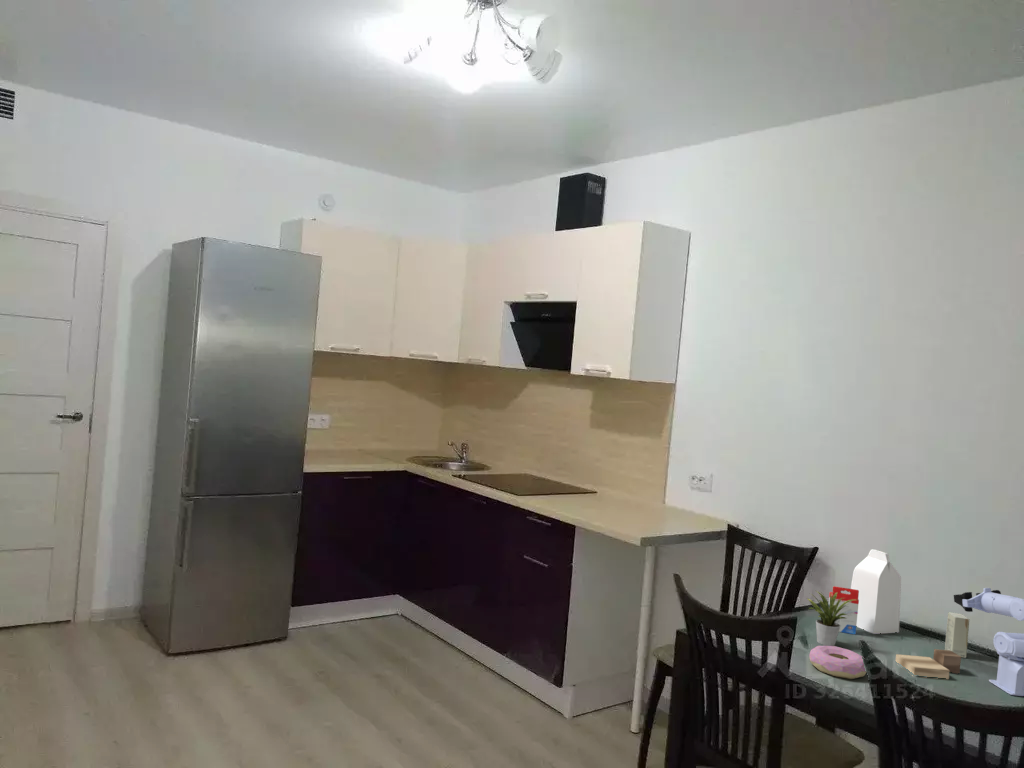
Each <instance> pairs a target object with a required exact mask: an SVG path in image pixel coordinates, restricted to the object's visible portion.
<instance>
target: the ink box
mask: <svg viewBox="0 0 1024 768" xmlns="http://www.w3.org/2000/svg"><path fill="white" fill-rule="evenodd" d="M845 591H846V592H848V593H846V592H845ZM836 592H837V597H836V599H835V602H834V605H836V603H837V602H838V600H839V599H841V598H842V599H841V601H840V603H839V605H838V607H837V609H838V608H839V606H840V605H842V604H843V603H844V602H846V601H848V600H853V601H850V602H848V603H846V604H845V605H846V606H845V605H844V606H845V607H844V606H843V607H844V608H842V609H841V610H840V611H839V612H838V613H837V615H839V614H841V613H845V614H847V615H842V616H840V617H845V618H847V619H838V620H836V621H835V622H836V623H838V624H839V625H840V629H839V632H838V633H844V634H850V635H856V634H857V627H856V624H857V614H858V604H859V600H858V596H859V590H855V589H851V588H847V587H843V586H842V587H841V586H835V585H834V586H832V591H829V592H828V593H829V595H828V596H829V597H828V605H829V606H830V593H831V595H832V597H833V595H834V594H835V593H836ZM847 604H848V605H847ZM833 613H834V612H833ZM837 615H836V616H837ZM832 616H833V615H832Z"/></svg>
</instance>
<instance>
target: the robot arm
mask: <svg viewBox="0 0 1024 768" xmlns="http://www.w3.org/2000/svg"><path fill="white" fill-rule="evenodd" d="M982 590H983V591H982V592H977V593H975V596H973V592H972V591H968V592H967V591H966V592H963V593H962V594H953V602H954V603H956V605H957V604H958V605H959V606H960V607H961V608H963V610H964V611H965V612H968V613H971V612H973V609H976V610H978V611H982V612H984V613H989V614H991V613H992V614H996V615H1001V616H1006V617H1010V618H1013V619H1016V621H1018V622H1019V621H1021V622H1023V621H1024V598H1021V597H1017V596H1012V595H1007V594H1002V592H1001V591H1000V590H999V589H994V590H992V589H991V588H990V587H984V588H982ZM992 641H993V646H994V649H995V650H996V654H998V655H999V656H998V663H997V664H998V665H997V672H996V673H997V674H996V679H988V681H989V683H991V684H993V685H995V686H996V687H998V688H999V689H1001V690H1002V691H1003V692H1005V693H1007V694H1008V695H1011V696H1019V697H1024V633H1023V632H1022V633H1021V632H1020V633H1019V632H1004V631H998V632H996V633H995V634H994V637H993V640H992Z"/></svg>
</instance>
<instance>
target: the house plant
mask: <svg viewBox="0 0 1024 768" xmlns="http://www.w3.org/2000/svg"><path fill="white" fill-rule="evenodd" d="M815 592H817V593H818V595H819V596H820V598H821V599H822V600H821V599H818V598H817V597H816V596H815V595H813V594H812V593H810V595H812V596H813V597H814V599H816V601H817V602H818V603H819V605H820V606H819V605H818V604H817V603H816V602H815V601H813V600H812V599H810V598H808V597H807V598H806V599H807V601H808V602H809V603H810V604H811V606H813V607H808V610H810V609H811V610H812V609H813V610H814V611H815V612H817V613H818V614H819V615H818V617H817V618H819V617H820V619H816V620H815V627H816V631H815V632H816V641H817V643H818V644H821V645H822V646H835V645H836V642H837V639H838V635H839V633H840V632H839V629H840V625H839V624H838V623H836V622H835V621H836V620H838V619H847V618H845V617H840V616H842V615H847V614H845V613H841V614H839V615H837V613H838V612H839V611H840V610H841V609H842V608H844V607H845V606H846V605H845V604H846V603H848V602H850V601H853V600H848V601H846V602H844V603H843V604H842V605H840V606H839V608H838V609H837V607H838V605H839V603H840V601H841V599H842V598H841V599H839V600H838V602H837V603H836V605H834V602H835V599H836V597H837V592H836V593H835V594H834V595H833V597H832V595H831V593H830V592H829V593H830V606H829V605H828V604H829V601H828V600H827V598H826V596H825V595H824V593H823V592H822V591H817V590H815ZM844 605H845V606H844ZM847 605H848V604H847ZM843 606H844V607H843ZM833 612H834V613H833ZM832 615H833V616H832ZM836 615H837V616H836Z"/></svg>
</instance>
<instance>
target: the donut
mask: <svg viewBox="0 0 1024 768" xmlns="http://www.w3.org/2000/svg"><path fill="white" fill-rule="evenodd" d="M808 656H809V662H810V663H811V664H812V666H813V667H815V668H816V669H817V670H818V671H820V673H825V674H827V675H829V676H833V677H836V678H837V677H838V678H843V679H847V680H848V679H849V680H854V679H858V678H859V679H860V678H863V677H864V676H865V675H866V673H867V672H866V671H865V668H864V663H863V659H862V657H863V656H862V655H861V654H858V653H857V652H855V651H853V650H850V649H847V648H844V647H843V648H842V647H839V646H835V645H834V646H826V645H817V646H815V647H813V648H812V649H810V652H809V655H808Z"/></svg>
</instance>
